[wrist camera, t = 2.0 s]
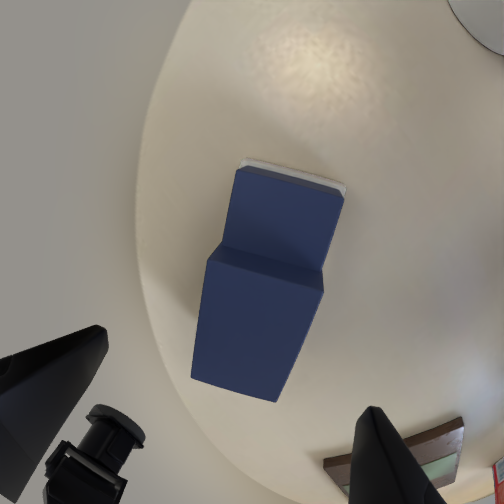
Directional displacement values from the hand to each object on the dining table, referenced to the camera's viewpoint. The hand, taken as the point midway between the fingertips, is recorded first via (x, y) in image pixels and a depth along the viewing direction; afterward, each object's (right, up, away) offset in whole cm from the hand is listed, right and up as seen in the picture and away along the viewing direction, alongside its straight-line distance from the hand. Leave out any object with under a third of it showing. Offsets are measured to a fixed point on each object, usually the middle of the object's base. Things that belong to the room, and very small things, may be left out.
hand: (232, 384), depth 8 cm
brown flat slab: (+18, -21, +14) cm, 31 cm away
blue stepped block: (+2, +3, +8) cm, 9 cm away
